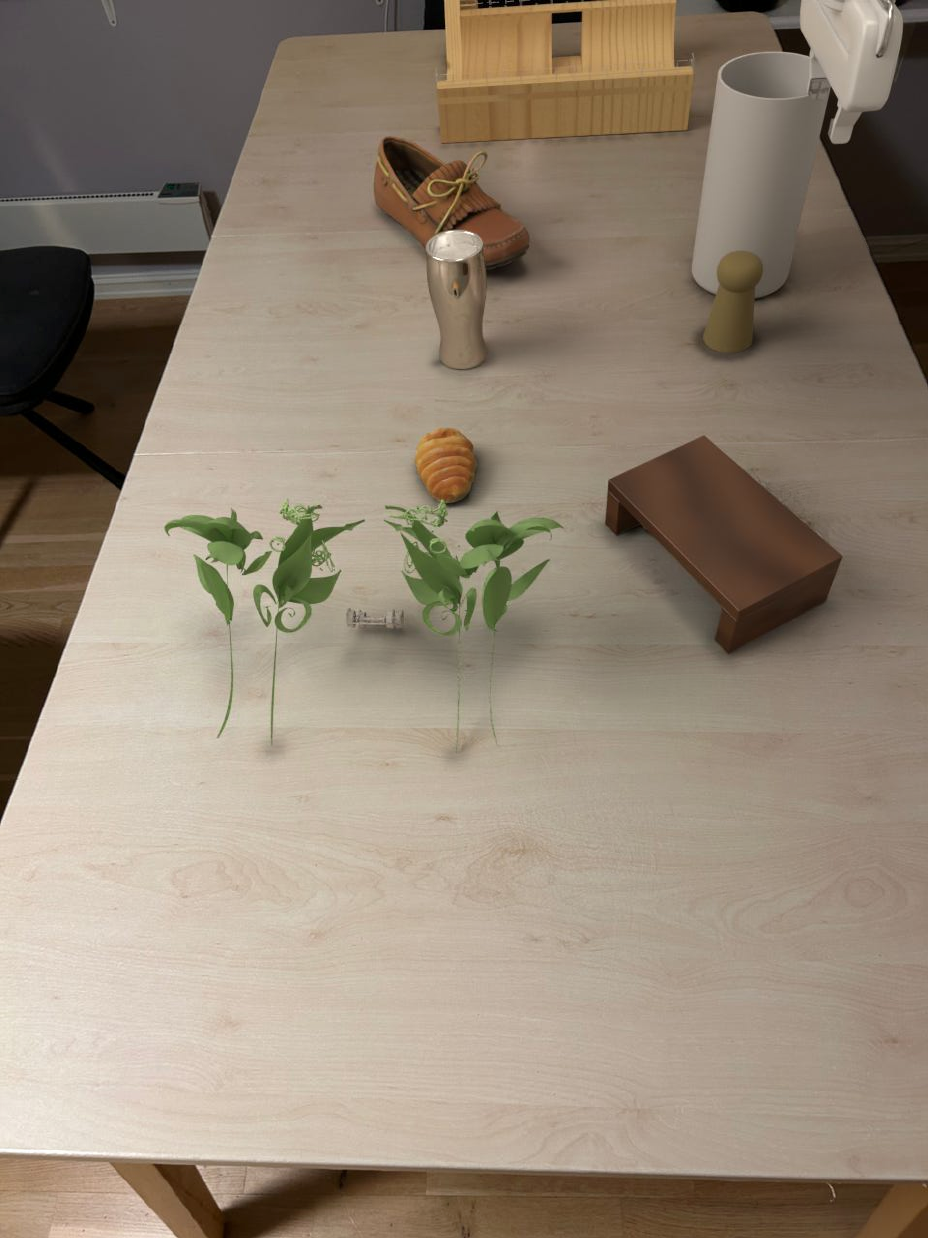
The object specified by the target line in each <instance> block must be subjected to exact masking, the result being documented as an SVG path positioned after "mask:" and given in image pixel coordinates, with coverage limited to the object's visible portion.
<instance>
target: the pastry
mask: <svg viewBox="0 0 928 1238" xmlns="http://www.w3.org/2000/svg"><path fill="white" fill-rule="evenodd" d="M414 464H415V466H416V470H417V473H418V476H419V478H420V479H421V481H422V483H423V485H424V486H425V488H426V489H427V491H428V493H429V494H430V497H432V498H433V499H434V500H435V501H436V502H438V503H439V504H441V500H442V499H443V500H444V503H445V504H448V503H456V502H458V501H460V500H463V499H464V498H466V496H467V495H468V493H470V491H471V487H472V483H473V481H474V480H475V471H476V468H477V461H476V458H475V454H474V444H473V443H472V441H471V440H470V439H468V438H467V436H466V435H465V434H463V433H462V432H461V431H460V430H459V429H457V428H454V427H440V428H436V429H434V430H433V431H431V432H428V433H426V434H425V435H424V436H422V438H421V439H420V440H419V442H418V443H417V446H416V453H415V455H414Z"/></svg>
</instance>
